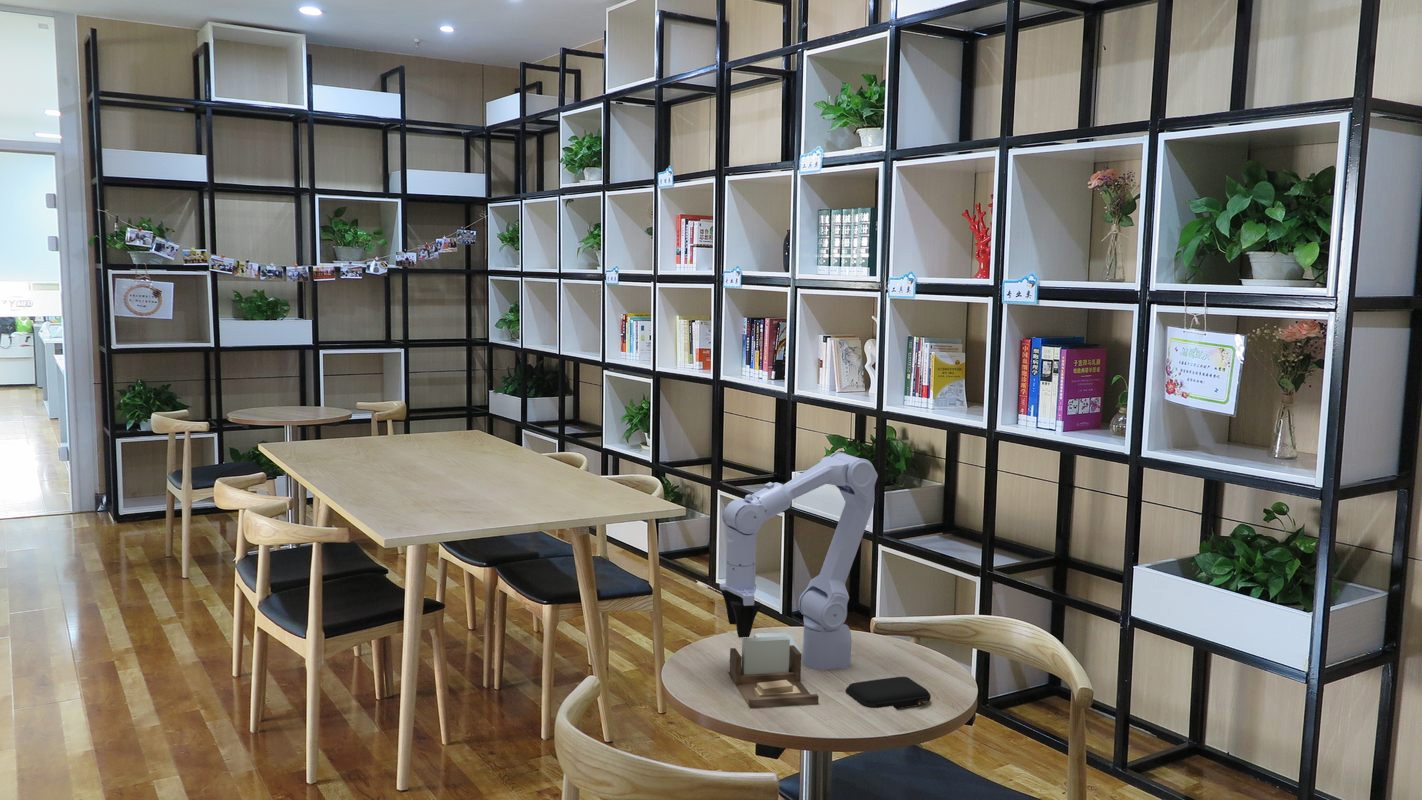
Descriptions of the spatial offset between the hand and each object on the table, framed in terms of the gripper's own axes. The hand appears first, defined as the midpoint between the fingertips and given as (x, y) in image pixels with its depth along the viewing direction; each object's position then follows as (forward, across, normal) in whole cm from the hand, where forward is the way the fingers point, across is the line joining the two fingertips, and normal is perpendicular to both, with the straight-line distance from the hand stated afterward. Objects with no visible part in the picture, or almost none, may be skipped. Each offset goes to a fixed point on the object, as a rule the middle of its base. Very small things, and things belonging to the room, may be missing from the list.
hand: (739, 630), depth 209 cm
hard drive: (+11, -17, +13) cm, 24 cm away
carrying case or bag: (+11, +14, +26) cm, 32 cm away
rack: (+10, +7, +5) cm, 13 cm away
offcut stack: (+9, +11, +5) cm, 15 cm away
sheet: (+9, +2, +5) cm, 11 cm away
